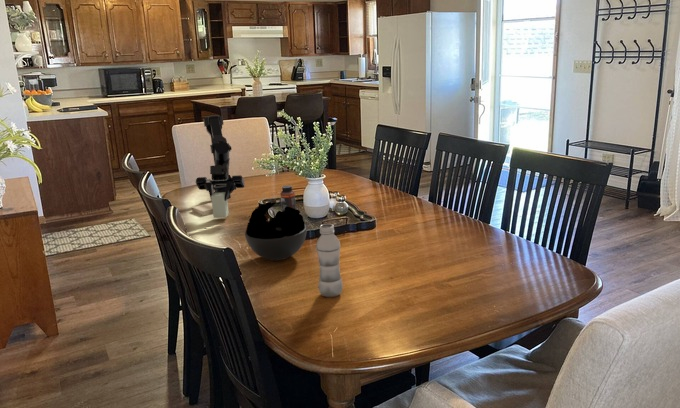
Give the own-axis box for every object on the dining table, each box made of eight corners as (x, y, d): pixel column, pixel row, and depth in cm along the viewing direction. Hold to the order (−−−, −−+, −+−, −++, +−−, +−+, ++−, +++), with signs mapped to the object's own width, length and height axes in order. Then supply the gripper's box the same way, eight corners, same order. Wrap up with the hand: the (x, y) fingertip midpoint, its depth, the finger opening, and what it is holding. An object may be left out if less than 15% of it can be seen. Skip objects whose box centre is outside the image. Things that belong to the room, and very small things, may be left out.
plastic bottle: (318, 291, 161) (313, 223, 155) (342, 288, 161) (338, 221, 156) (319, 300, 154) (314, 230, 149) (344, 298, 155) (340, 228, 149)
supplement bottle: (297, 210, 241) (295, 184, 238) (295, 214, 235) (292, 188, 232) (283, 210, 241) (281, 184, 238) (280, 214, 236) (278, 188, 233)
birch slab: (213, 206, 250) (212, 202, 250) (224, 210, 243) (224, 206, 242) (192, 211, 244) (191, 207, 244) (203, 216, 237) (202, 211, 236)
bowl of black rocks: (241, 254, 193) (235, 201, 188) (297, 243, 200) (293, 192, 195) (257, 274, 175) (251, 216, 170) (317, 261, 182) (313, 205, 177)
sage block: (216, 214, 232) (214, 192, 230) (228, 213, 232) (226, 192, 230) (213, 217, 228) (211, 196, 225) (226, 217, 227) (223, 195, 225)
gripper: (193, 157, 228) (189, 191, 220) (240, 155, 227) (237, 189, 219) (201, 172, 237) (197, 205, 230) (245, 170, 237) (243, 203, 229)
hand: (218, 200), depth 227 cm, fingers closed on sage block, 5 cm apart
